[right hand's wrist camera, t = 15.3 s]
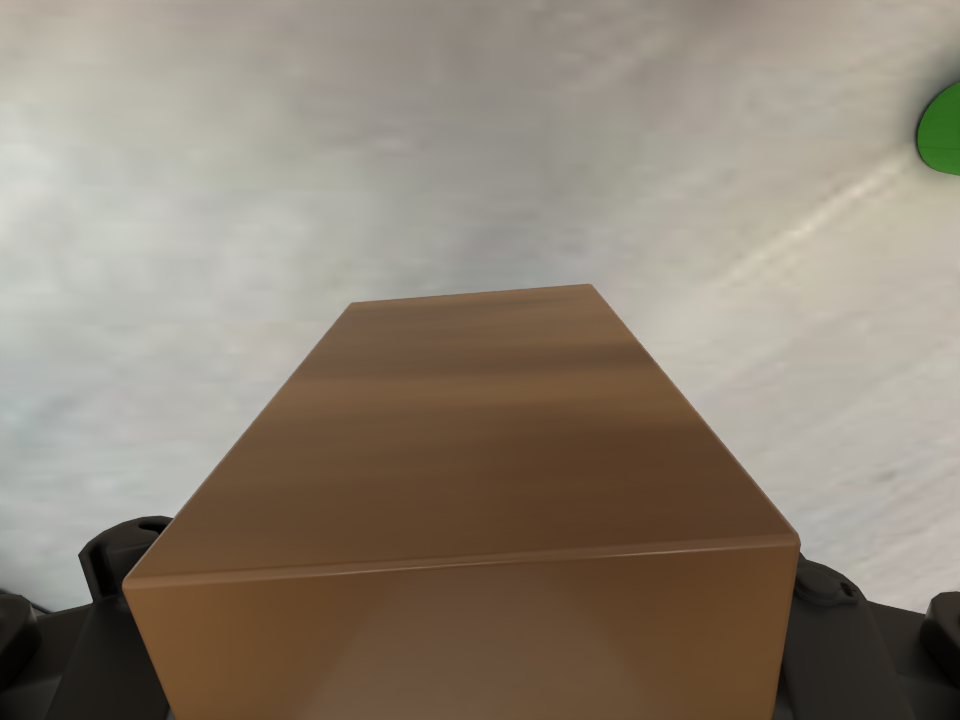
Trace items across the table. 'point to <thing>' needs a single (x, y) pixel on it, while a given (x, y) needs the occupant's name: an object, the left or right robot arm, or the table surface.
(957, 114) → the potted flower
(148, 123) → the table surface
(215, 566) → the box
